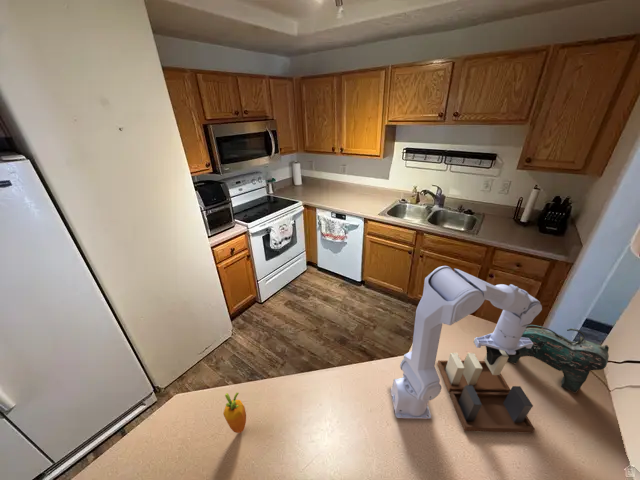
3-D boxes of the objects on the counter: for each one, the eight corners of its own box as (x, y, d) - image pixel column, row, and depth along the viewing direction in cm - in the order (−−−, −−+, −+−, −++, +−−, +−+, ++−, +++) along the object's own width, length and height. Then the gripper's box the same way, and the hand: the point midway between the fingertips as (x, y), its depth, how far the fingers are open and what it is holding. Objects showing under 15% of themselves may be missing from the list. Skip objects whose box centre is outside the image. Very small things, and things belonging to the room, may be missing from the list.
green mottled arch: (582, 385, 77) (619, 339, 67) (583, 403, 72) (622, 356, 63) (504, 348, 88) (526, 305, 78) (500, 361, 84) (522, 317, 74)
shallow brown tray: (448, 392, 76) (449, 388, 75) (437, 364, 84) (438, 360, 83) (508, 393, 75) (510, 389, 74) (491, 365, 83) (493, 361, 82)
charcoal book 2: (514, 422, 68) (525, 405, 64) (502, 403, 72) (512, 386, 69) (521, 422, 68) (533, 405, 64) (510, 403, 72) (520, 386, 68)
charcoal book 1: (466, 421, 69) (474, 404, 65) (457, 402, 73) (465, 385, 69) (473, 421, 68) (482, 404, 65) (465, 402, 73) (472, 385, 69)
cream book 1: (451, 384, 77) (457, 367, 73) (444, 369, 82) (450, 352, 78) (458, 384, 77) (464, 368, 73) (451, 369, 82) (457, 352, 78)
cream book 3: (492, 375, 74) (501, 356, 70) (483, 359, 79) (491, 341, 75) (499, 375, 74) (509, 357, 70) (490, 359, 79) (498, 341, 75)
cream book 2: (468, 385, 77) (475, 368, 73) (460, 369, 81) (467, 352, 78) (475, 385, 77) (482, 368, 73) (467, 369, 81) (474, 353, 78)
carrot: (230, 425, 69) (218, 392, 62) (249, 417, 71) (239, 385, 64) (231, 445, 65) (219, 413, 58) (251, 437, 67) (241, 404, 60)
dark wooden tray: (463, 431, 67) (465, 427, 66) (449, 395, 75) (451, 391, 74) (532, 432, 66) (534, 429, 65) (510, 396, 74) (512, 392, 73)
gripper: (489, 341, 66) (475, 374, 72) (548, 341, 65) (528, 375, 72) (475, 320, 72) (463, 352, 78) (529, 320, 71) (512, 353, 78)
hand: (493, 361), depth 75 cm, fingers closed on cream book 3, 2 cm apart
